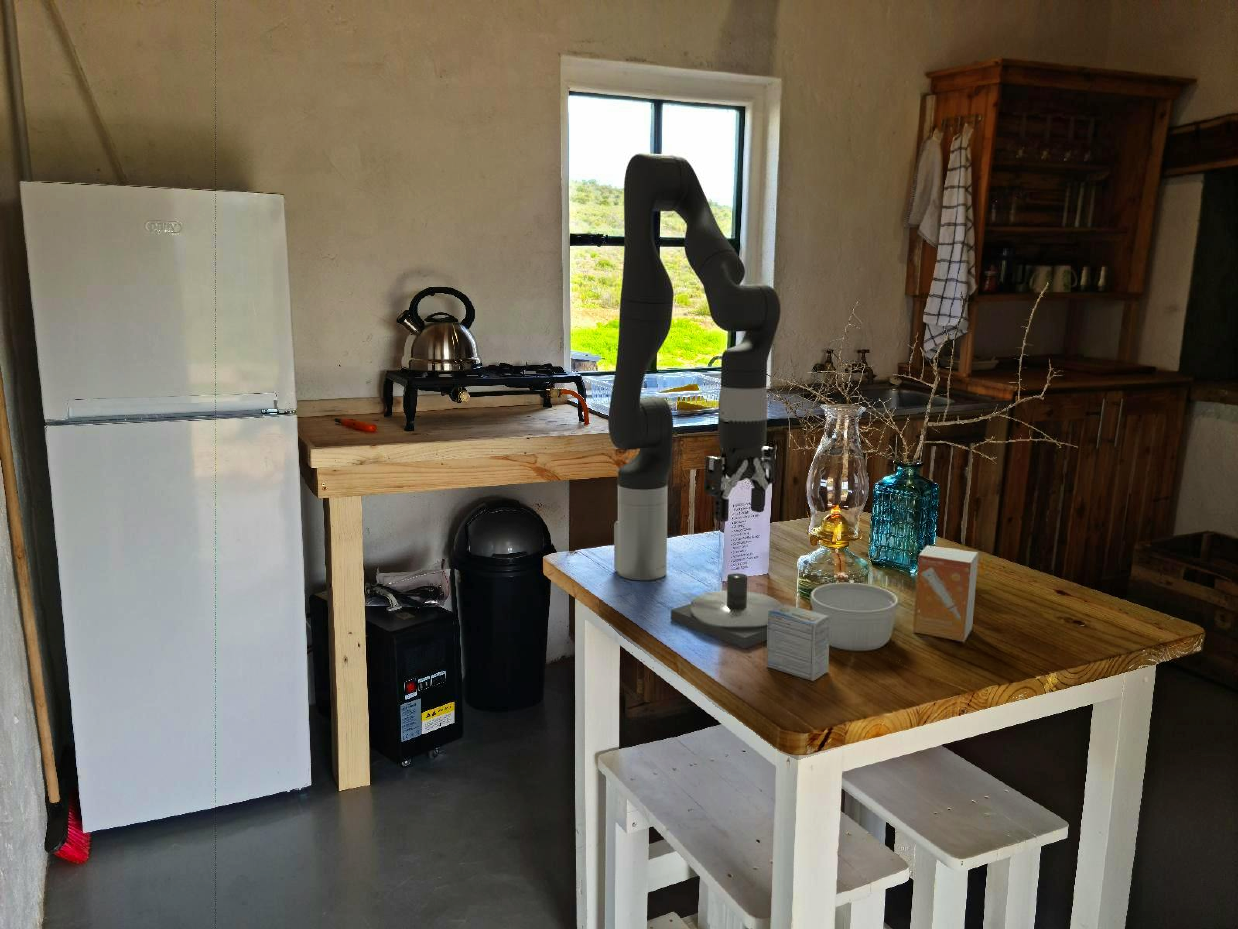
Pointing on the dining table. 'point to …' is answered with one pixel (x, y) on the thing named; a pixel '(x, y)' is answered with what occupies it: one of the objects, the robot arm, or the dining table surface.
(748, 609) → the lid
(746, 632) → the mat
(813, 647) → the medicine box
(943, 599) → the small box
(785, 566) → the dining table surface
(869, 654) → the dining table surface
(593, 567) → the dining table surface
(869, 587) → the ramekin
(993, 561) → the dining table surface
